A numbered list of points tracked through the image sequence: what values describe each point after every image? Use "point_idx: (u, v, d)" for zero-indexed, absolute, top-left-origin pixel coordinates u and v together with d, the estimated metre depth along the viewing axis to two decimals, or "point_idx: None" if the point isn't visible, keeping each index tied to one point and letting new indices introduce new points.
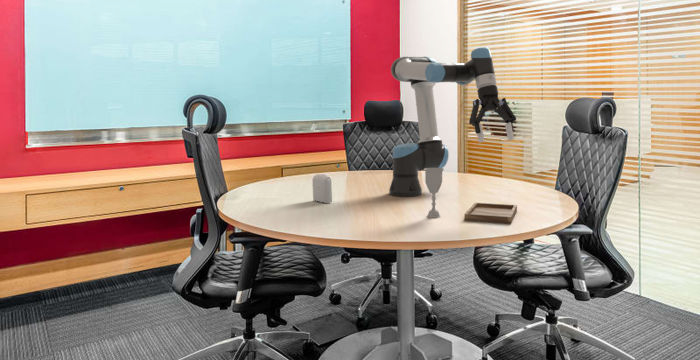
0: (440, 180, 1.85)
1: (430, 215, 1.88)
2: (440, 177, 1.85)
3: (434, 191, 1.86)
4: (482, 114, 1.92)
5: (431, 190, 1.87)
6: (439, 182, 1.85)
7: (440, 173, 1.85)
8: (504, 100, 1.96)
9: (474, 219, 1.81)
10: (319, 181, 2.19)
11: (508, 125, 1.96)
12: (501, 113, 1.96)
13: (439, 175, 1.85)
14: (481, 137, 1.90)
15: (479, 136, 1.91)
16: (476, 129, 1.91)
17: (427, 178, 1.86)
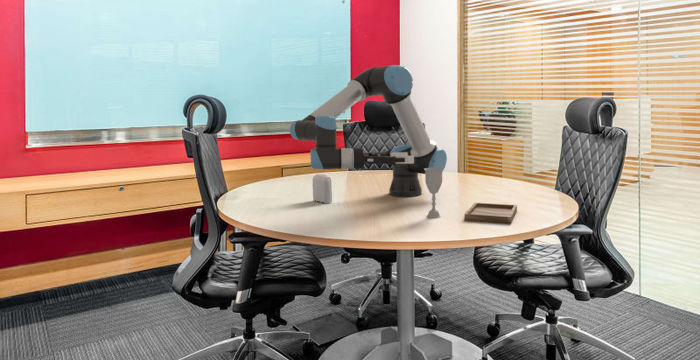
0: (440, 180, 1.85)
1: (430, 215, 1.88)
2: (440, 177, 1.85)
3: (434, 191, 1.86)
4: None
5: (431, 190, 1.87)
6: (439, 182, 1.85)
7: (440, 173, 1.85)
8: None
9: (474, 219, 1.81)
10: (319, 181, 2.19)
11: None
12: None
13: (439, 175, 1.85)
14: None
15: None
16: None
17: (427, 178, 1.86)
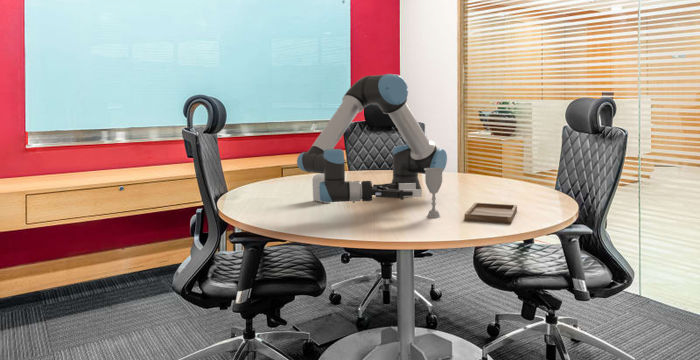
0: (440, 180, 1.85)
1: (430, 215, 1.88)
2: (440, 177, 1.85)
3: (434, 191, 1.86)
4: None
5: (431, 190, 1.87)
6: (439, 182, 1.85)
7: (440, 173, 1.85)
8: None
9: (474, 219, 1.81)
10: (319, 181, 2.19)
11: None
12: None
13: (439, 175, 1.85)
14: None
15: None
16: None
17: (427, 178, 1.86)
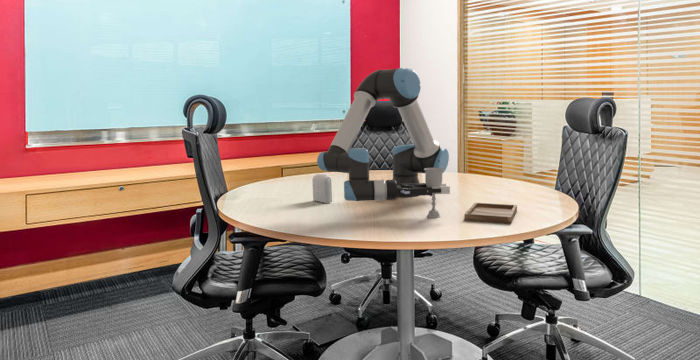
0: (440, 180, 1.85)
1: (430, 215, 1.88)
2: (440, 177, 1.85)
3: None
4: None
5: None
6: (439, 182, 1.85)
7: (440, 173, 1.85)
8: None
9: (474, 219, 1.81)
10: (319, 181, 2.19)
11: None
12: None
13: (439, 175, 1.85)
14: None
15: None
16: None
17: (427, 178, 1.86)
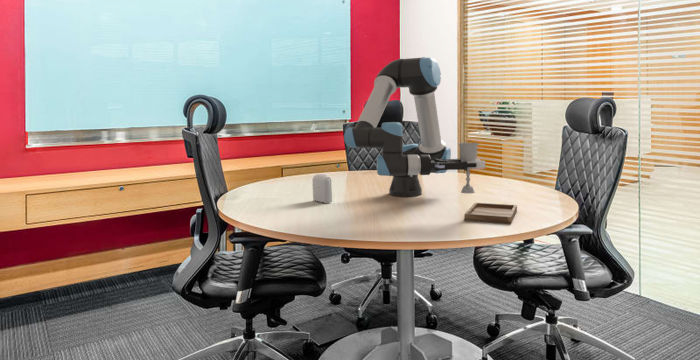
0: (475, 155, 1.82)
1: (464, 191, 1.84)
2: (475, 151, 1.82)
3: None
4: None
5: None
6: (474, 157, 1.82)
7: (475, 147, 1.81)
8: None
9: (474, 219, 1.81)
10: (319, 181, 2.19)
11: None
12: None
13: (474, 150, 1.81)
14: None
15: None
16: None
17: (462, 153, 1.82)
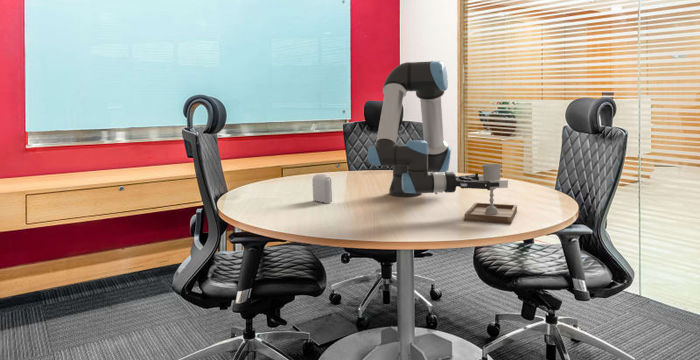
0: (499, 176, 1.85)
1: (488, 211, 1.87)
2: (499, 173, 1.85)
3: None
4: None
5: None
6: (498, 178, 1.85)
7: (499, 169, 1.84)
8: None
9: (474, 219, 1.81)
10: (319, 181, 2.19)
11: None
12: None
13: (498, 171, 1.84)
14: None
15: None
16: None
17: (485, 174, 1.85)
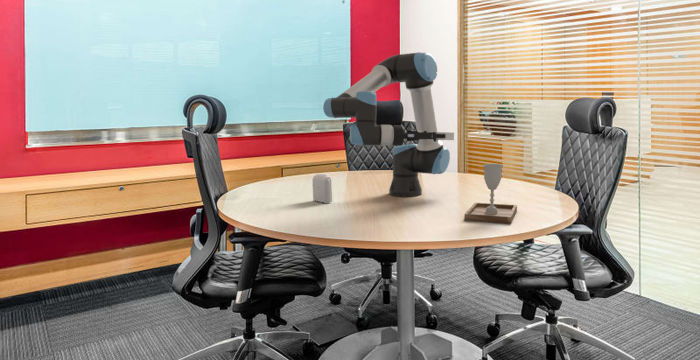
0: (500, 176, 1.85)
1: (488, 211, 1.87)
2: (500, 173, 1.84)
3: (493, 187, 1.86)
4: None
5: (490, 187, 1.86)
6: (499, 178, 1.84)
7: (500, 169, 1.84)
8: (410, 138, 1.80)
9: (474, 219, 1.81)
10: (319, 181, 2.19)
11: None
12: None
13: (499, 172, 1.84)
14: None
15: None
16: None
17: (486, 174, 1.85)
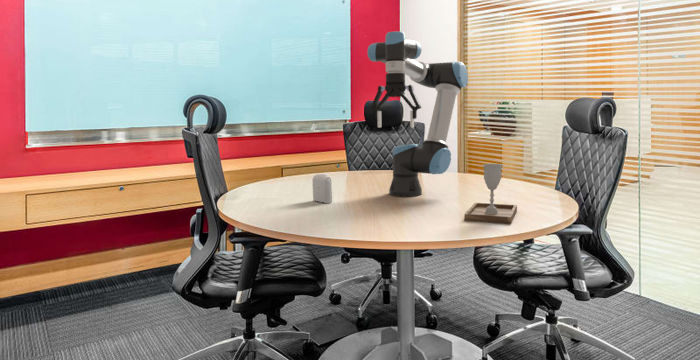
0: (499, 176, 1.85)
1: (488, 211, 1.87)
2: (499, 173, 1.85)
3: (493, 187, 1.86)
4: (382, 101, 2.00)
5: (489, 187, 1.86)
6: (498, 178, 1.85)
7: (500, 169, 1.84)
8: (409, 87, 1.95)
9: (474, 219, 1.81)
10: (319, 181, 2.19)
11: None
12: None
13: (498, 171, 1.84)
14: None
15: None
16: None
17: (486, 174, 1.85)
